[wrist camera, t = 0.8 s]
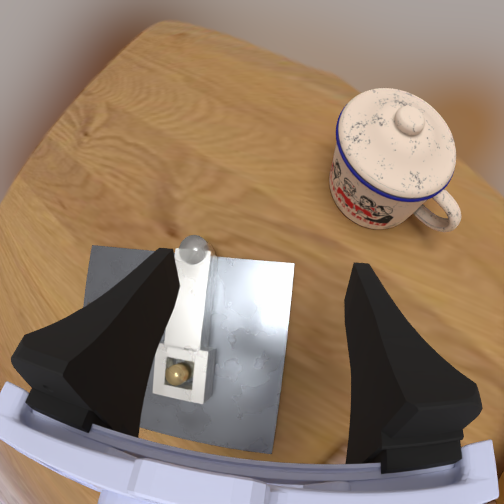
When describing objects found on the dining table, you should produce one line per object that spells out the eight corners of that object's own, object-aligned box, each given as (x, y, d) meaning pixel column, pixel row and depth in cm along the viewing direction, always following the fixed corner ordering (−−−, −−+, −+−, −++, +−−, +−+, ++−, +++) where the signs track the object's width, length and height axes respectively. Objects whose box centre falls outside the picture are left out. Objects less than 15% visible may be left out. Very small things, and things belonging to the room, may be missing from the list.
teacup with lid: (305, 184, 29) (309, 109, 17) (366, 127, 29) (391, 46, 18) (401, 277, 26) (464, 253, 15) (454, 209, 26) (520, 159, 15)
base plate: (272, 451, 25) (271, 454, 24) (81, 404, 28) (78, 405, 27) (294, 264, 27) (294, 263, 27) (95, 246, 30) (92, 245, 30)
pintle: (197, 378, 26) (183, 387, 23) (180, 375, 26) (164, 383, 23) (198, 361, 26) (185, 367, 23) (181, 358, 27) (166, 363, 23)
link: (211, 396, 26) (203, 404, 23) (164, 387, 26) (152, 393, 24) (228, 244, 28) (221, 237, 25) (180, 240, 29) (170, 233, 26)
